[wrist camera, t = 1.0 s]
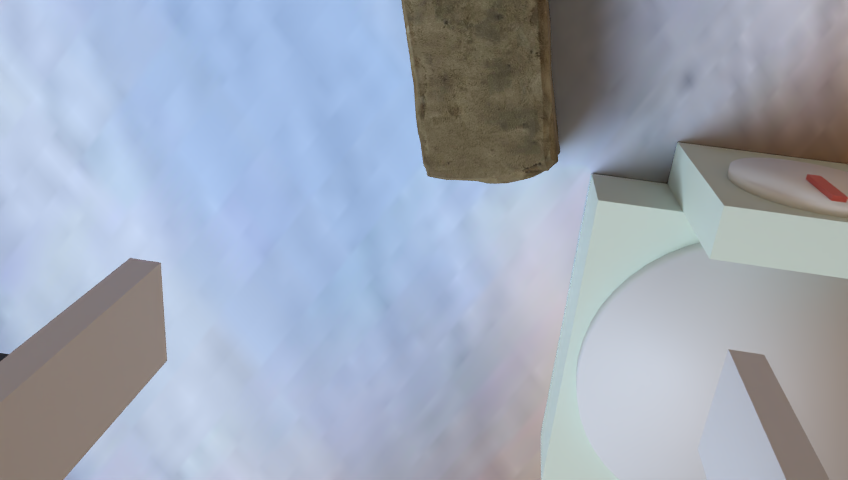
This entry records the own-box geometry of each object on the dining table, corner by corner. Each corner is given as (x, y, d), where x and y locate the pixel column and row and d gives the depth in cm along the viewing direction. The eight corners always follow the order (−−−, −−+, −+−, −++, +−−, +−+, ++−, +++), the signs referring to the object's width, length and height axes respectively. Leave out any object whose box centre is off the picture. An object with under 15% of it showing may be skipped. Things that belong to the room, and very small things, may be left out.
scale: (602, 119, 33) (623, 174, 25) (948, 163, 32) (1094, 238, 23) (540, 434, 40) (541, 560, 31) (824, 482, 38) (903, 629, 30)
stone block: (538, -111, 30) (538, -121, 26) (561, 155, 34) (565, 187, 30) (403, -86, 31) (380, -92, 27) (441, 168, 35) (427, 201, 31)
